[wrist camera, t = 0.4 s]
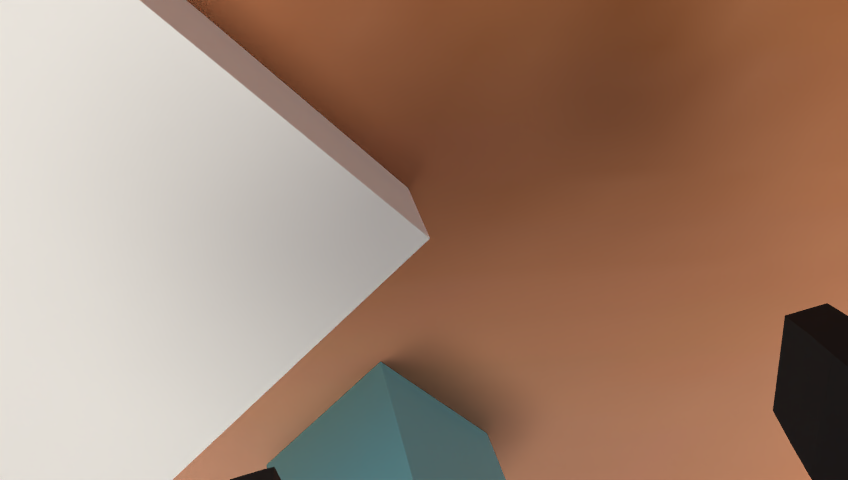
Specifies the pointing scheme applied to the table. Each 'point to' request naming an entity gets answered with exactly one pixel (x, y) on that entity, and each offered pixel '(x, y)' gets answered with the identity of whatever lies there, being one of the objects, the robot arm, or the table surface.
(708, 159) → the table surface
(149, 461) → the cream base plate
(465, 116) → the table surface
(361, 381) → the teal block
